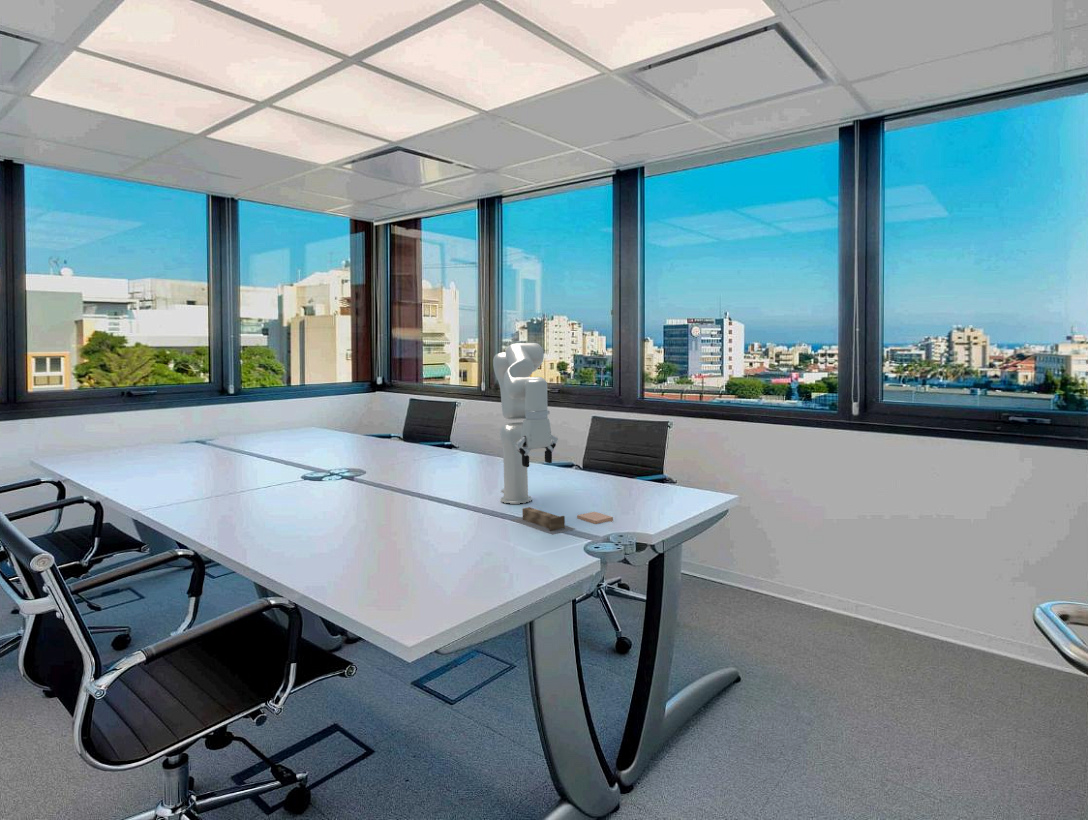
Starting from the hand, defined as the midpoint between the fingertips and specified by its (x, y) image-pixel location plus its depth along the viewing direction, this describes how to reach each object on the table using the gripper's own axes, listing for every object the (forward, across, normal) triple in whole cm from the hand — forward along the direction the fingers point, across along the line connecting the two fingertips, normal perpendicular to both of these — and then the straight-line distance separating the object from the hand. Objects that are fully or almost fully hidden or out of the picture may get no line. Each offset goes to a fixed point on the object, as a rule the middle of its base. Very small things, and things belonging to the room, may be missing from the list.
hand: (537, 464), depth 224 cm
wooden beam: (+20, 0, +3) cm, 21 cm away
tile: (+20, -18, +5) cm, 27 cm away
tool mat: (+21, 0, +3) cm, 21 cm away
